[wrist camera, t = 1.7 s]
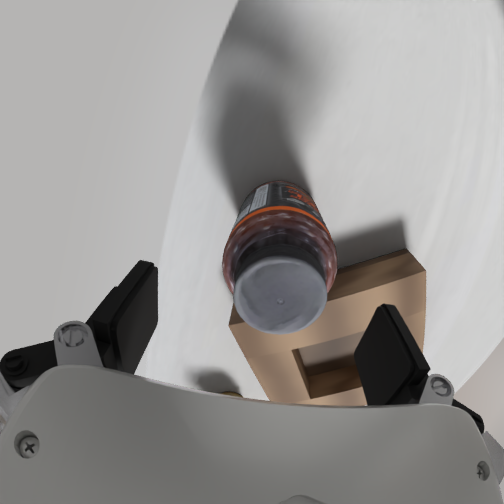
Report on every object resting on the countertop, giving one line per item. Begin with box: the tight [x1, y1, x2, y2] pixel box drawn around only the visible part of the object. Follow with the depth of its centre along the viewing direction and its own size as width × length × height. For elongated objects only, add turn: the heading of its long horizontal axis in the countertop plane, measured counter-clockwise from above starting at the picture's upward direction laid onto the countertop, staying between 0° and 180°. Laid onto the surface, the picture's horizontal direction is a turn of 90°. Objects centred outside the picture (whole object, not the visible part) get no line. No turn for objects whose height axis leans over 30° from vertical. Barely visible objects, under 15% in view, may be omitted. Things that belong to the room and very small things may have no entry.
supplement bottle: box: [222, 181, 337, 335], centre depth 17 cm, size 6×6×11 cm
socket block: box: [229, 248, 426, 406], centre depth 25 cm, size 16×16×4 cm
